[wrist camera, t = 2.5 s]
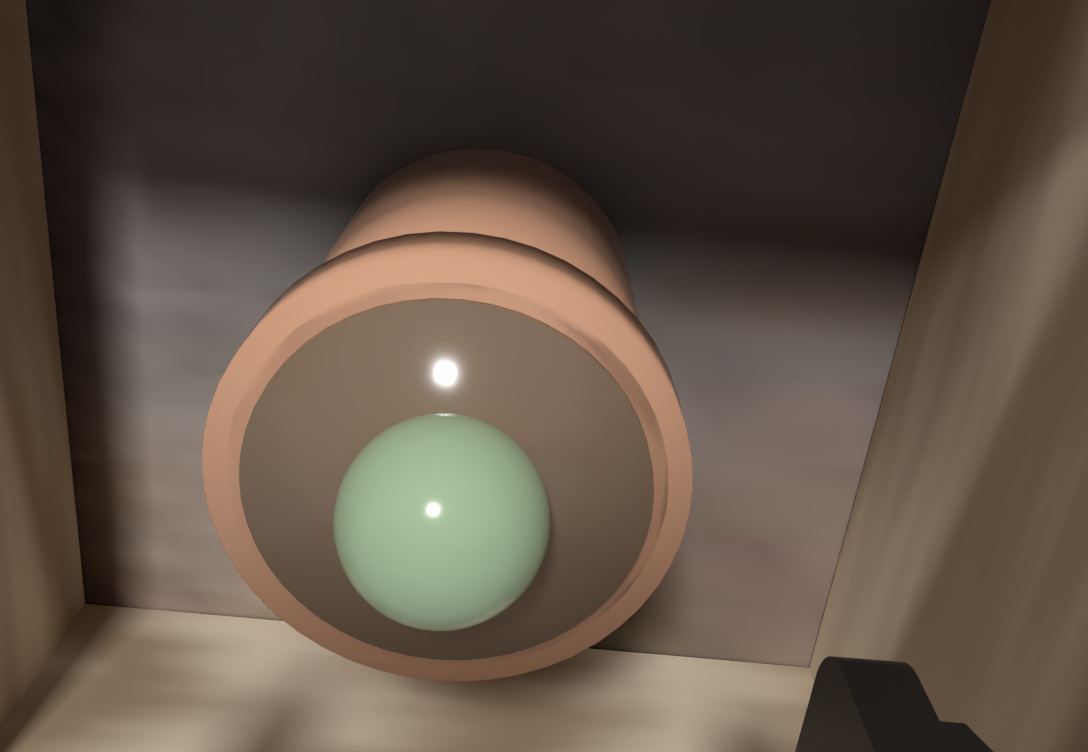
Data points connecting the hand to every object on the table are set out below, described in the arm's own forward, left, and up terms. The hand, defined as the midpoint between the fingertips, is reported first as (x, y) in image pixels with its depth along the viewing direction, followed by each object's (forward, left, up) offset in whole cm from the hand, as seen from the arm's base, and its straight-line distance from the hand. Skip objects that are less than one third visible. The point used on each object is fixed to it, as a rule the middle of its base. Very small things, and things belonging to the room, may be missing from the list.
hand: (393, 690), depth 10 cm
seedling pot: (0, 0, -11) cm, 11 cm away
